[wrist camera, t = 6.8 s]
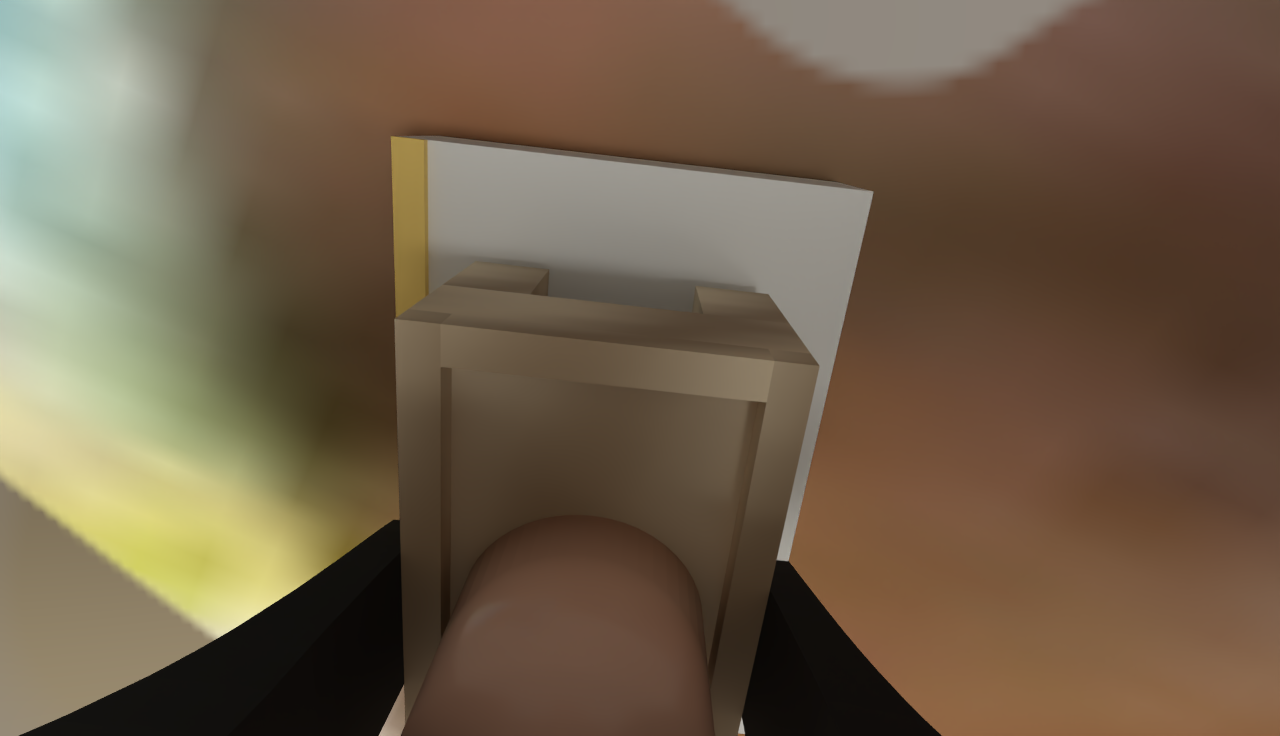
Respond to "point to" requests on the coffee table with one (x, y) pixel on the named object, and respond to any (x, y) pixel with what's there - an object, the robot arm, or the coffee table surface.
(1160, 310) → the coffee table surface
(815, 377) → the wooden box
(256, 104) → the coffee table surface
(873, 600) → the coffee table surface
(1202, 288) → the coffee table surface
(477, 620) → the pink rounded cylinder
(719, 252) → the dock
